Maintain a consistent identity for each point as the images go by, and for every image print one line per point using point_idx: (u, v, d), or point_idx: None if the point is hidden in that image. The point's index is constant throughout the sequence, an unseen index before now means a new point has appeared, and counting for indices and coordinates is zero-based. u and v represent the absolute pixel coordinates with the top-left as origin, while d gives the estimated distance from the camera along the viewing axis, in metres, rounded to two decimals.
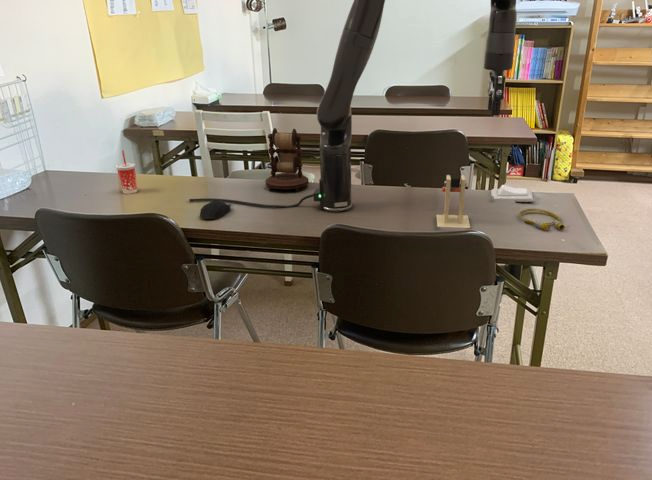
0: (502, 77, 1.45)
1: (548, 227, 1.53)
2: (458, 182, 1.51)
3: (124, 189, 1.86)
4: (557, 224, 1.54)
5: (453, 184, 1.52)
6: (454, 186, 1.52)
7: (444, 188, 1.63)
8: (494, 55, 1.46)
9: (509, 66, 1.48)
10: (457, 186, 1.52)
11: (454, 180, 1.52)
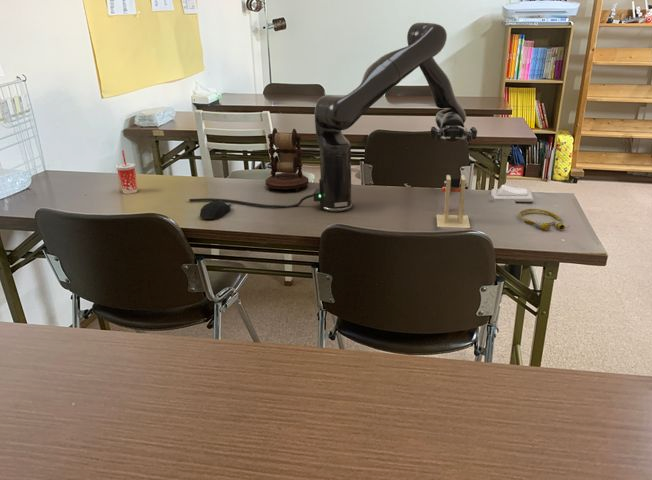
0: None
1: (548, 227, 1.53)
2: (458, 182, 1.51)
3: (124, 189, 1.86)
4: (557, 224, 1.54)
5: (453, 184, 1.52)
6: (454, 186, 1.52)
7: (444, 188, 1.63)
8: (463, 122, 1.81)
9: None
10: (457, 186, 1.52)
11: (454, 180, 1.52)
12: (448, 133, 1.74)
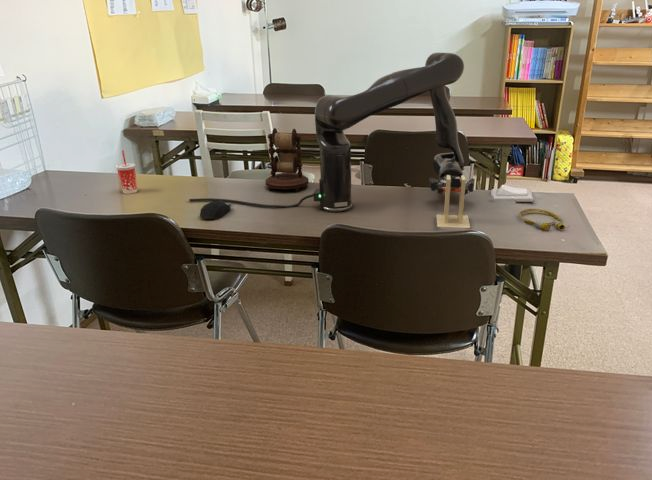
0: None
1: (548, 227, 1.53)
2: (458, 182, 1.51)
3: (124, 189, 1.86)
4: (557, 224, 1.54)
5: (453, 184, 1.52)
6: (454, 186, 1.52)
7: (444, 188, 1.63)
8: (461, 172, 1.75)
9: None
10: (457, 186, 1.52)
11: (454, 180, 1.52)
12: None
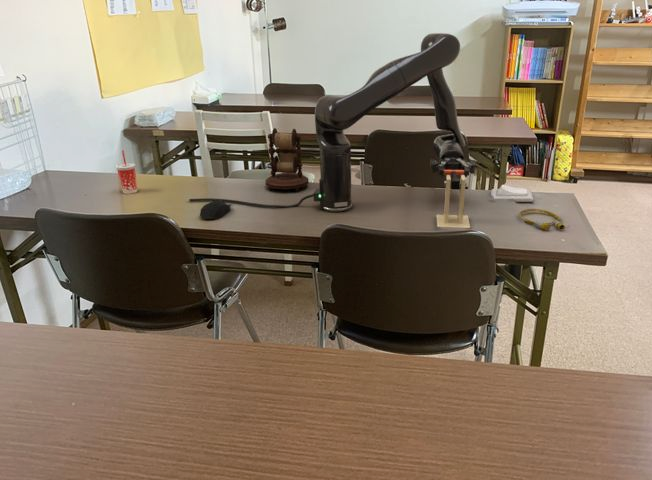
0: None
1: (548, 227, 1.53)
2: (458, 184, 1.52)
3: (124, 189, 1.86)
4: (557, 224, 1.54)
5: (453, 186, 1.52)
6: (454, 188, 1.52)
7: (445, 172, 1.62)
8: (462, 153, 1.73)
9: None
10: (457, 188, 1.52)
11: (454, 182, 1.51)
12: (447, 166, 1.66)
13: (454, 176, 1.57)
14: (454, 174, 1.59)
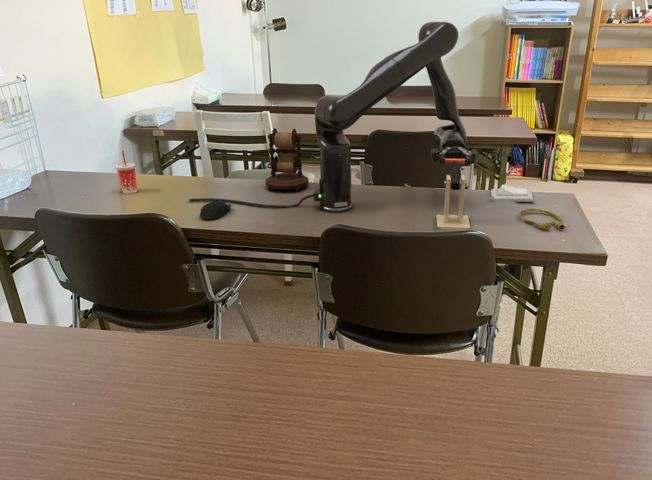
0: None
1: (548, 227, 1.53)
2: (458, 186, 1.52)
3: (124, 189, 1.86)
4: (557, 224, 1.54)
5: (453, 188, 1.52)
6: (454, 189, 1.53)
7: (446, 161, 1.60)
8: (463, 142, 1.71)
9: None
10: (457, 189, 1.53)
11: (454, 184, 1.52)
12: (448, 155, 1.64)
13: (454, 171, 1.56)
14: (455, 166, 1.58)
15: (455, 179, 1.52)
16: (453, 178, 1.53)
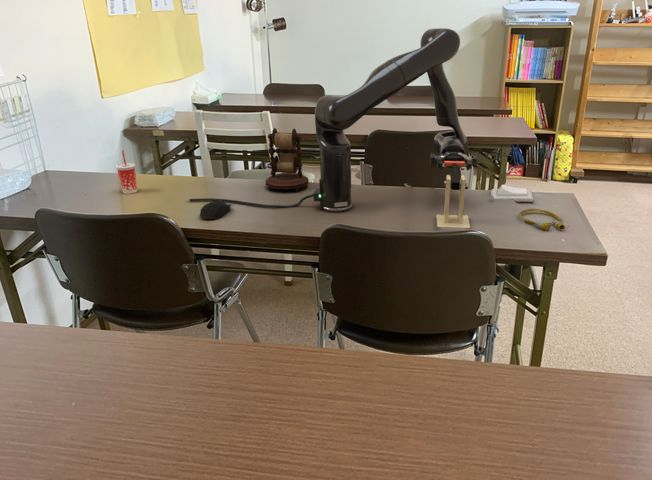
0: None
1: (548, 227, 1.53)
2: (458, 186, 1.52)
3: (124, 189, 1.86)
4: (557, 224, 1.54)
5: (453, 187, 1.52)
6: (454, 189, 1.53)
7: (445, 164, 1.61)
8: (463, 148, 1.72)
9: None
10: (457, 189, 1.52)
11: (454, 184, 1.51)
12: (448, 160, 1.65)
13: (454, 172, 1.57)
14: (455, 168, 1.58)
15: (455, 179, 1.52)
16: (453, 178, 1.53)
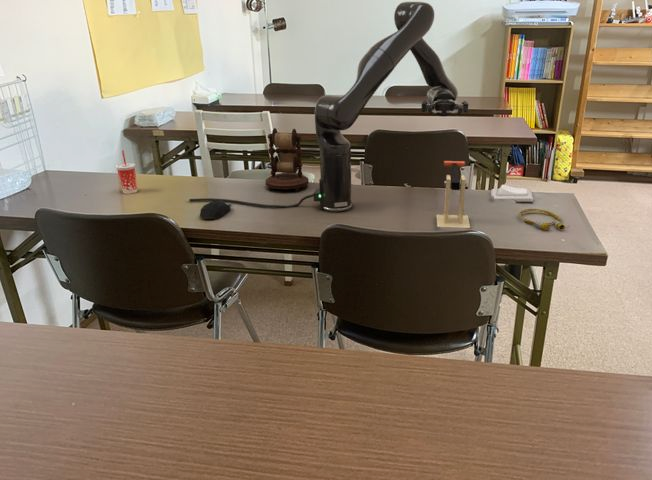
0: None
1: (548, 227, 1.53)
2: (458, 186, 1.52)
3: (124, 189, 1.86)
4: (557, 224, 1.54)
5: (453, 187, 1.52)
6: (454, 189, 1.53)
7: (445, 164, 1.61)
8: (454, 97, 1.79)
9: None
10: (457, 189, 1.52)
11: (454, 184, 1.51)
12: (439, 106, 1.72)
13: (454, 172, 1.57)
14: (455, 168, 1.58)
15: (455, 179, 1.52)
16: (453, 178, 1.53)
